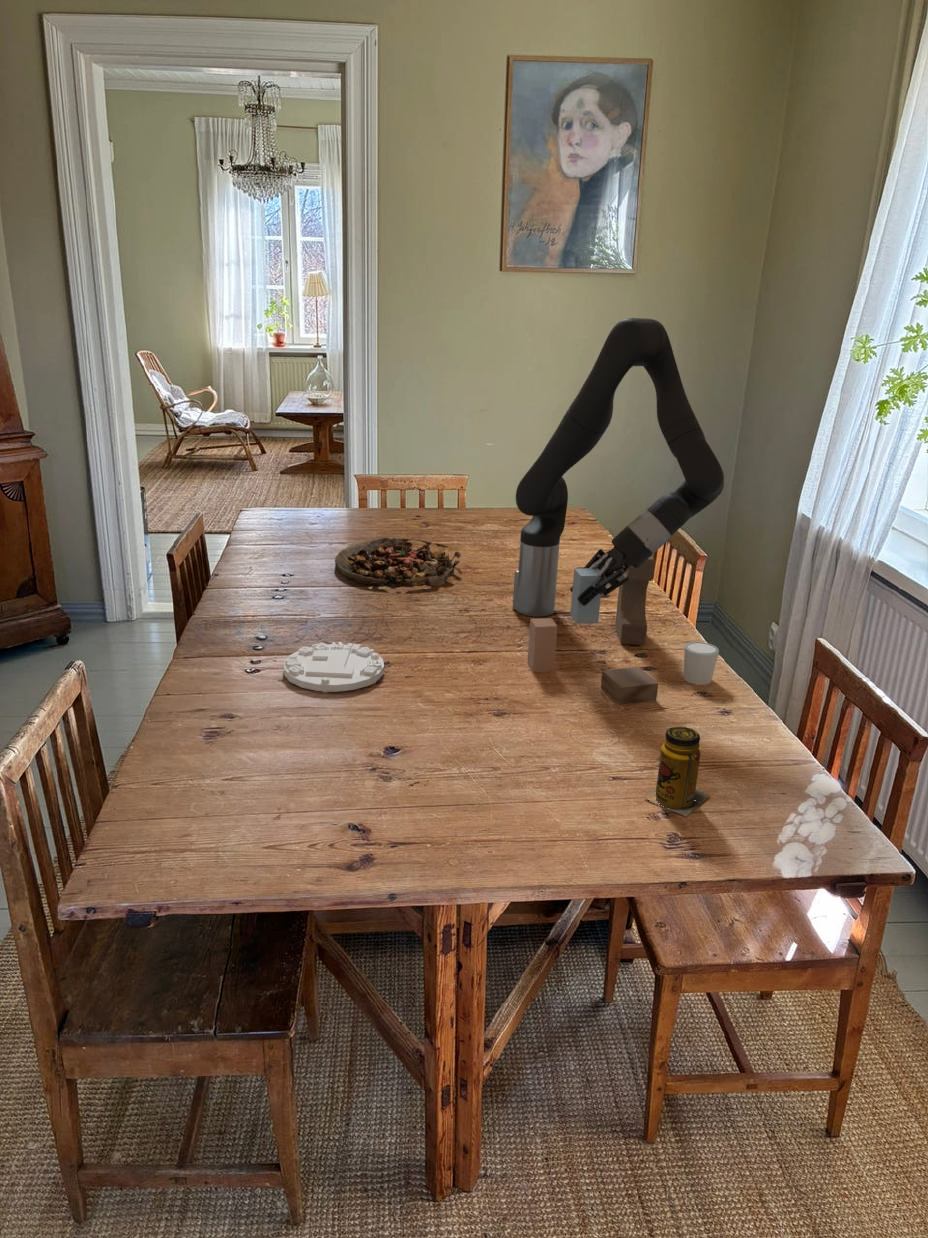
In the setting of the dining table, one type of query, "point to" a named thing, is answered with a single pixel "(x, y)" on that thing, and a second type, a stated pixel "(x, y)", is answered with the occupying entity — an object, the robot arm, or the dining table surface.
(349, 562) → the food dish
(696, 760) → the condiment
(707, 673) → the white short cylinder
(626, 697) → the walnut plinth
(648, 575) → the decorative block
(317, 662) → the embossed medallion
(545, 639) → the terracotta pillar
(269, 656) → the dining table surface
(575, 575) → the blue pillar
